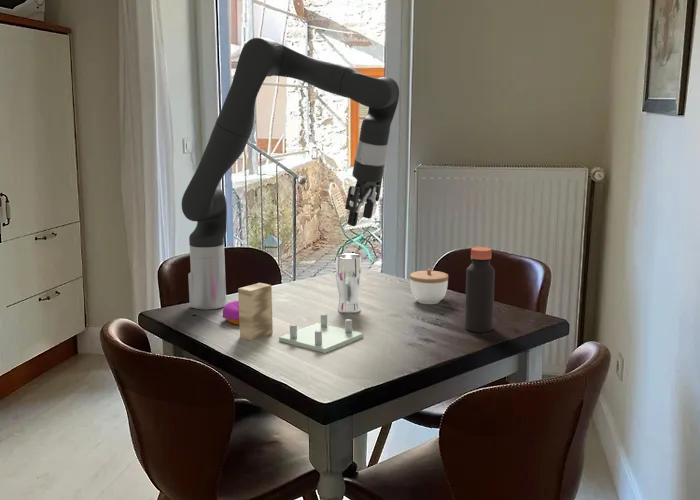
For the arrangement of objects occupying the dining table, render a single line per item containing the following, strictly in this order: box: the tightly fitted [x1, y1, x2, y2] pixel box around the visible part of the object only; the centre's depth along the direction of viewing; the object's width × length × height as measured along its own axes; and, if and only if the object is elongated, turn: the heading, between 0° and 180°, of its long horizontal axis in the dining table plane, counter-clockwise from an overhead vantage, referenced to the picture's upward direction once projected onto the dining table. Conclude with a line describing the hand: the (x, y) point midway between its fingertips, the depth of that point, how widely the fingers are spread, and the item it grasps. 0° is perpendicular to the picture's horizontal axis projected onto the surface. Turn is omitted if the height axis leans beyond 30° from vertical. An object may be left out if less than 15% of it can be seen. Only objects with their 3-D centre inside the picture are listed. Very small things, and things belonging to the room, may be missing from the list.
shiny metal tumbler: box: [335, 253, 363, 315], centre depth 188 cm, size 7×7×15 cm
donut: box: [222, 300, 240, 326], centre depth 181 cm, size 10×10×5 cm
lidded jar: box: [409, 268, 449, 305], centre depth 197 cm, size 11×11×9 cm
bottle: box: [464, 246, 496, 333], centre depth 171 cm, size 7×7×20 cm
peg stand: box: [278, 313, 364, 354], centre depth 165 cm, size 14×14×4 cm
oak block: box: [237, 282, 274, 342], centre depth 167 cm, size 7×4×12 cm, turn 142°
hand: (359, 221), depth 178 cm, fingers open, 8 cm apart
